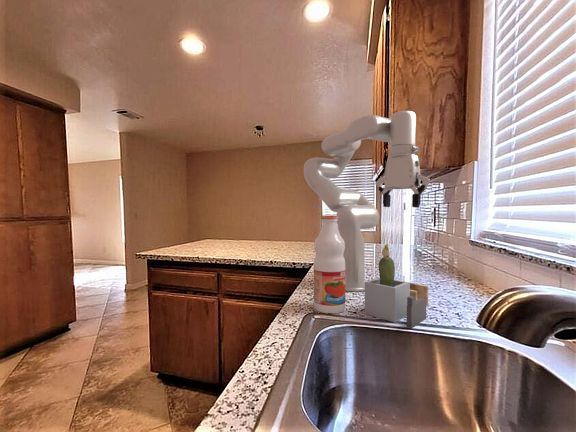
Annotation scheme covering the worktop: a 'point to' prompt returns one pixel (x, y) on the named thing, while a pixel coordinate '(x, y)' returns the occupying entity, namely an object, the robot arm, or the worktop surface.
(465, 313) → the worktop surface
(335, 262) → the fruit juice
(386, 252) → the vegetable
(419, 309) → the grey square panel
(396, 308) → the grey open box
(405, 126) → the robot arm
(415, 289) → the holder
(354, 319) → the worktop surface
